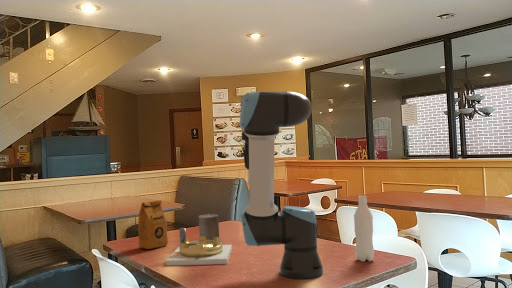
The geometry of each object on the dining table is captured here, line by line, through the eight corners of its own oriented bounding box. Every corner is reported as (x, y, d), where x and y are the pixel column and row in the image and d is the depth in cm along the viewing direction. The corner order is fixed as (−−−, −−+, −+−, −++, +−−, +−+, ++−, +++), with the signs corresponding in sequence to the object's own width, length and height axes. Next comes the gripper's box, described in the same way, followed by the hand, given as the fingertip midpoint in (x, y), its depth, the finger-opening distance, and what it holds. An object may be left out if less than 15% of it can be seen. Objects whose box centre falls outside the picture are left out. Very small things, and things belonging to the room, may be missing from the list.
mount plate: (226, 263, 157) (226, 258, 157) (166, 265, 157) (166, 259, 158) (232, 249, 181) (231, 244, 181) (179, 250, 181) (179, 245, 181)
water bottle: (351, 259, 158) (349, 195, 158) (367, 256, 160) (364, 194, 161) (362, 263, 151) (360, 197, 152) (378, 261, 154) (375, 196, 154)
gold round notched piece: (177, 257, 160) (176, 232, 160) (182, 247, 178) (181, 224, 178) (222, 255, 161) (221, 230, 161) (222, 245, 179) (222, 223, 179)
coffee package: (170, 246, 191) (169, 200, 191) (147, 251, 182) (146, 203, 182) (159, 243, 198) (157, 199, 198) (136, 248, 189) (135, 201, 189)
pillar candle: (222, 241, 196) (221, 211, 197) (215, 246, 187) (213, 214, 188) (204, 241, 199) (202, 211, 200) (196, 246, 190) (194, 214, 190)
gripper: (264, 130, 175) (265, 184, 174) (251, 132, 186) (252, 182, 186) (248, 130, 171) (250, 185, 171) (236, 132, 183) (238, 183, 182)
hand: (251, 184), depth 178 cm, fingers closed
